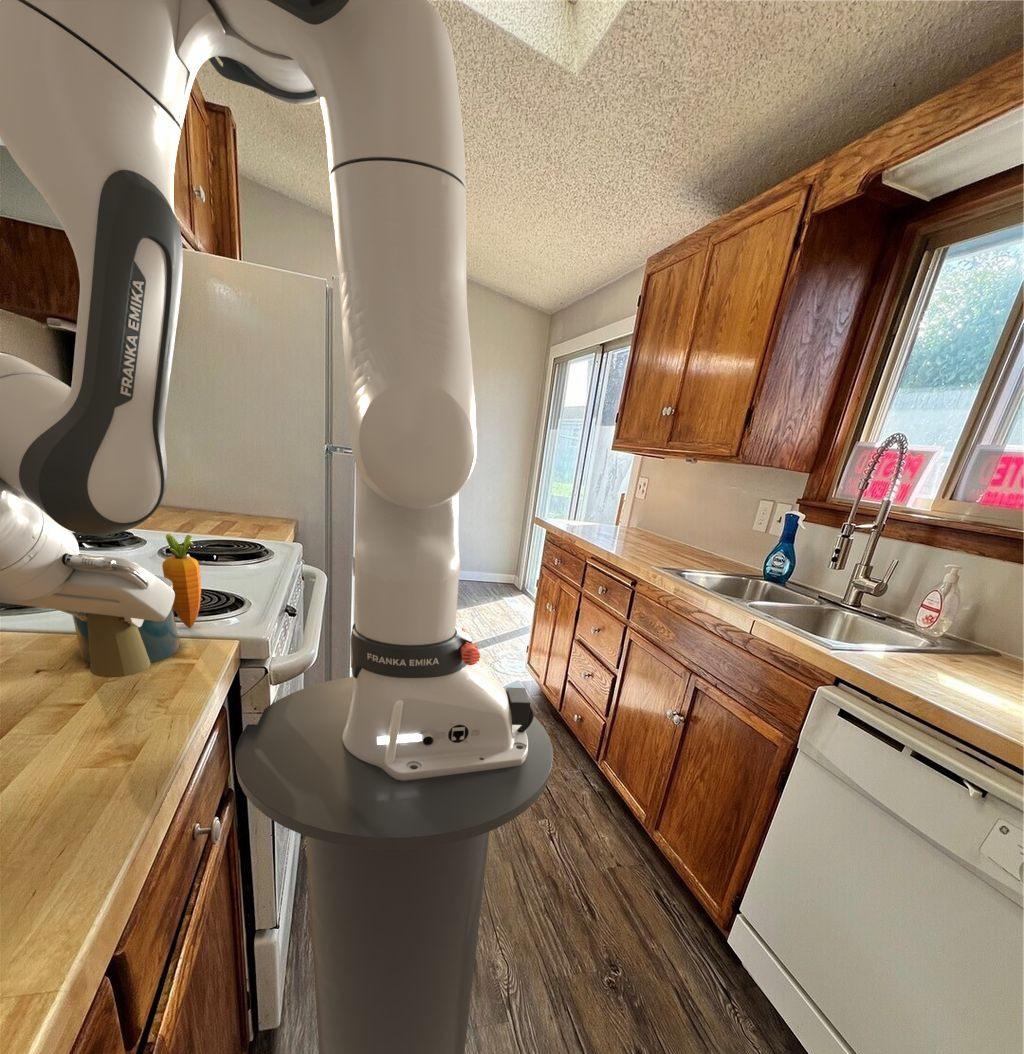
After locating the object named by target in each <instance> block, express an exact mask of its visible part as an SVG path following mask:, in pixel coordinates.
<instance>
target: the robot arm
mask: <svg viewBox="0 0 1024 1054" xmlns="http://www.w3.org/2000/svg"><path fill="white" fill-rule="evenodd" d="M217 58H218V59H219V60H220V61H221V63H222V65H221V63H220V62H219V61H218V59H217ZM206 61H209V62H210V64H211V66H212V67H213V68H214V69H215V70H216V72H217V73H218V74H219V75H220V76H222V77H223V78H225V79H227V80H229V81H233V82H236V83H237V84H238V83H239V84H241V85H245V86H248V87H251V88H254V89H256V90H258V91H260V92H262V93H264V94H266V95H268V96H270V97H272V98H275V99H277V100H280V101H282V102H285V103H288V104H292V105H298V106H299V105H301V106H306V105H308V106H309V105H312V104H316V103H319V104H320V108H321V111H322V117H323V122H324V129H325V138H326V146H327V147H326V149H327V150H326V151H327V163H328V174H329V186H330V196H331V197H330V199H331V207H332V219H333V229H334V242H335V250H336V252H335V253H336V263H337V275H338V287H339V296H340V315H341V329H342V345H343V360H344V361H343V363H344V375H345V388H346V389H345V390H346V402H347V404H346V405H347V415H348V427H349V429H348V430H349V440H350V441H349V442H350V449H351V454H352V458H353V461H354V463H355V464H354V465H355V486H354V487H355V488H354V489H355V496H354V497H355V499H354V500H355V502H354V505H355V508H354V509H355V510H354V512H355V513H354V514H355V515H354V608H355V609H354V617H355V620H354V623H353V624H352V629H351V634H350V639H349V641H350V642H349V645H350V647H349V648H350V650H349V653H350V656H349V657H350V668H351V673H352V677H353V676H354V683H353V692H352V699H351V705H350V711H349V715H348V719H347V723H346V726H345V729H344V732H343V736H342V740H343V744H344V746H345V747H346V749H347V750H348V751H349V752H350V753H351V754H352V755H354V756H355V757H357V758H358V759H360V760H362V761H365V762H367V763H370V764H372V765H375V766H378V767H380V768H382V769H383V770H384V771H385V772H386V773H387V774H389V775H390V776H391V777H393V778H394V779H397V780H401V781H407V780H414V779H422V778H430V777H438V776H445V775H453V774H461V773H468V772H476V771H484V770H491V769H499V768H507V767H514V766H519V765H521V764H522V763H523V762H524V761H525V759H526V757H527V754H528V738H527V734H526V731H525V730H526V729H527V728H528V727H529V726H530V724H531V723H532V721H533V717H535V713H534V709H533V707H532V706H531V701H530V697H529V695H528V692H527V690H526V687H507V686H506V688H504V686H503V685H502V683H501V682H500V681H499V680H498V679H497V678H496V677H495V676H493V675H492V674H491V673H489V672H488V671H486V670H485V669H484V668H482V667H481V666H480V665H478V664H477V663H478V662H479V661H480V658H481V654H480V653H481V652H480V651H479V647H478V646H477V645H476V644H475V643H473V638H472V637H471V636H470V635H469V634H468V632H467V630H466V629H465V627H461V629H460V628H459V627H457V612H458V611H457V610H458V597H459V595H458V594H459V582H460V569H461V568H460V567H461V559H460V557H461V556H460V540H459V539H460V536H459V534H460V533H459V493H460V492H461V491H462V489H463V488H464V487H465V485H466V484H467V483H468V481H469V479H470V477H471V475H472V473H473V470H474V467H475V465H476V461H477V460H476V459H477V449H478V448H477V445H478V444H477V423H476V401H475V385H474V371H473V369H474V368H473V356H472V347H471V337H470V336H471V335H470V326H469V316H468V315H469V314H468V292H467V290H468V289H467V288H468V287H467V282H468V281H467V280H468V279H467V192H466V190H467V188H466V187H467V186H466V185H467V183H466V157H465V156H466V155H465V137H464V128H463V127H464V126H463V116H462V108H461V107H462V106H461V100H460V91H459V83H458V76H457V75H458V74H457V69H456V62H455V57H454V50H453V45H452V41H451V38H450V34H449V32H448V29H447V27H446V25H445V23H444V20H443V18H442V17H441V15H440V14H439V12H438V11H437V9H436V8H435V7H434V5H433V4H432V3H431V2H430V1H429V0H0V139H1V142H2V143H3V145H4V146H5V147H6V150H7V151H8V153H9V154H10V156H11V158H12V159H13V161H14V162H15V163H16V165H17V166H18V168H19V169H20V170H21V172H22V173H23V174H24V175H25V176H26V178H27V179H28V180H29V182H30V183H31V184H32V185H33V186H34V188H35V189H36V190H37V191H38V192H39V193H40V195H41V196H42V198H43V200H45V202H46V203H47V204H48V206H49V207H50V209H51V211H52V212H53V213H54V215H55V217H56V219H57V220H58V222H59V223H60V225H61V227H62V229H63V230H64V232H65V234H66V235H65V236H66V237H67V238H68V241H69V243H70V246H71V248H72V250H73V254H74V257H75V260H76V265H77V271H78V278H79V297H78V298H79V299H78V308H77V309H78V310H77V320H76V330H75V341H74V342H75V343H74V353H73V354H74V355H73V365H72V378H71V379H72V380H71V386H69V385H68V384H66V383H65V382H63V381H61V380H59V379H58V378H56V377H54V376H53V375H51V374H50V373H48V372H47V371H45V370H43V369H42V368H40V367H38V366H36V365H34V364H33V363H31V362H29V361H28V360H26V359H24V358H22V357H20V356H17V355H15V354H12V353H9V352H5V351H2V350H1V351H0V604H9V605H17V606H26V607H34V608H41V609H42V608H43V609H51V610H57V611H59V612H62V613H66V614H68V615H71V616H72V615H74V616H76V617H77V618H79V619H80V620H82V621H87V613H93V614H101V615H110V616H118V617H120V619H119V621H121V622H122V623H124V624H126V625H128V626H133V627H141V626H142V624H143V621H144V620H152V621H164V620H165V619H166V618H167V616H168V614H169V613H170V610H171V608H172V605H173V602H174V599H175V593H174V591H173V590H172V589H171V588H170V587H169V586H168V585H166V584H165V583H164V582H162V581H161V580H160V579H158V578H157V577H156V576H154V575H155V574H153V573H151V572H150V571H149V570H147V569H146V568H144V567H143V566H141V565H140V564H138V563H136V562H134V561H132V560H129V559H126V558H123V557H117V556H111V555H104V554H103V555H102V554H93V553H85V552H80V548H79V542H78V540H77V538H76V536H75V535H74V533H75V534H79V535H84V536H96V537H97V536H108V535H109V536H110V535H115V534H120V533H122V532H126V531H129V530H131V529H134V528H136V527H138V526H139V525H142V524H143V523H144V522H146V521H147V520H148V519H149V518H150V517H152V516H153V515H154V514H155V513H156V511H157V510H158V508H160V505H161V503H162V502H163V499H164V497H165V494H166V489H167V485H168V458H167V450H166V439H165V429H166V428H165V425H166V412H167V404H168V396H169V391H170V390H169V389H170V381H171V372H172V366H173V360H174V359H173V357H174V350H175V343H176V335H177V328H178V320H179V313H180V305H181V304H180V303H181V295H182V294H181V293H182V285H183V283H182V282H183V268H184V251H183V250H184V249H183V238H182V233H181V228H180V224H179V222H178V219H177V217H176V213H175V206H174V202H175V201H174V181H175V169H176V168H175V167H176V160H177V153H178V146H179V143H180V142H179V141H180V138H181V133H182V128H183V124H184V120H185V115H186V111H187V107H188V103H189V99H190V94H191V91H192V87H193V84H194V81H195V79H196V76H197V73H198V71H199V70H200V68H201V67H202V65H203V64H204V63H205V62H206ZM72 532H73V533H72Z"/></svg>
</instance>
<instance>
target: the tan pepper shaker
mask: <svg viewBox="0 0 1024 1054" xmlns="http://www.w3.org/2000/svg"><path fill="white" fill-rule="evenodd" d="M119 619H120V617H118V616H110V615H101V614H93V613H87V623H88V638H89V653H90V663H89V667H90V673H91V674H92V675H93V676H96V677H100V678H123V677H129V676H133V675H137V674H141V673H143V672H145V671H147V670H148V669H150V667H151V665H152V663H150V660H149V657H148V655H147V652H146V649H145V646H144V644H143V641H142V638H141V635H140V633H139V630H138V627H133V626H128V625H126V624H124V623H122V622H121V621H119Z"/></svg>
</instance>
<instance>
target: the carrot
mask: <svg viewBox="0 0 1024 1054" xmlns="http://www.w3.org/2000/svg"><path fill="white" fill-rule="evenodd" d="M192 537H193V536H192V535H190V534H186V536H185V537H184V539H183V543H182V544H181V545H180V544H179V543H178V541H177V539H176V538H175V537H174V535H172V534H171V533H167V534H165V539H166V542H167V543H168V546H169V551H170V552H171V553H172V554H173V555H171V556H168V557H167V558H166V559H165V560H163V562H162V566H161V567H162V572H163V577H165V578H167V579H169V580H171V581H172V583H173V591H174V593H175V599H174V602H173V610H174V613H175V614H176V615H177V617H178V619H180V621H181V622H182V623H183V625H184V626H186V627H187V628H188V629H191V628H192V627H193V626H194V625H195V622H196V620H197V617H198V616H199V611H200V608H201V600H202V599H201V598H202V583H201V570H200V564H199V561H198V560H197V559H196V558H194V557H192V556H189V555H187V552H188V550H189V549H190V547H192V546H194V542H193V541H191V540H192Z"/></svg>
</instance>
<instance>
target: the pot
mask: <svg viewBox="0 0 1024 1054" xmlns="http://www.w3.org/2000/svg"><path fill="white" fill-rule="evenodd" d="M153 575H154V576H156V577H157V578H158V579H160V580H161V581H162V582H164V583H165V584H166V585H168V586H169V587H170V588H171V589H172V590H173V583H172V581H171V580H169V579H167V578H165V577H164V576H161V575H157V574H153ZM71 616H72V621H73V625H74V629H75V633H76V634H75V635H76V637H77V642H78V646H79V650H80V654H81V655H80V656H81V658H82V659H83V660H84V661H85V662H87V663H89V664H90V653H89V638H88V623H87V621H82V620H80V619H79V618H77V617H76V616H74V615H71ZM175 616H176V615H175V610H174V608H173V605H172V608H171V610H170V613H169V614H168V616H167V618H166V619H165V620H164V621H152V620H144V621H143V624H142V626H141V627H138V630H139V633H140V635H141V638H142V641H143V644H144V646H145V649H146V652H147V655H148V657H149V660H150V663H151V664H152V663H156V662H159V661H162V660H165V659H167V658H169V657H171V656H173V655H174V654H176V653H177V652H178V651H179V649H180V642H179V637H178V629H177V622H176V617H175Z"/></svg>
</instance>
